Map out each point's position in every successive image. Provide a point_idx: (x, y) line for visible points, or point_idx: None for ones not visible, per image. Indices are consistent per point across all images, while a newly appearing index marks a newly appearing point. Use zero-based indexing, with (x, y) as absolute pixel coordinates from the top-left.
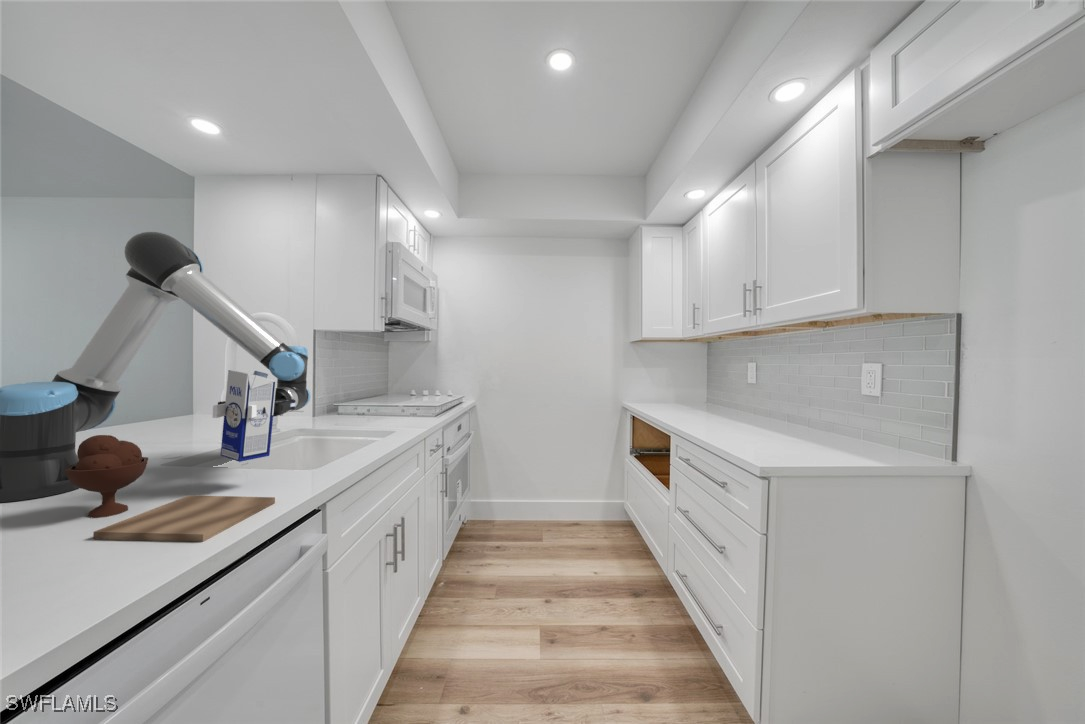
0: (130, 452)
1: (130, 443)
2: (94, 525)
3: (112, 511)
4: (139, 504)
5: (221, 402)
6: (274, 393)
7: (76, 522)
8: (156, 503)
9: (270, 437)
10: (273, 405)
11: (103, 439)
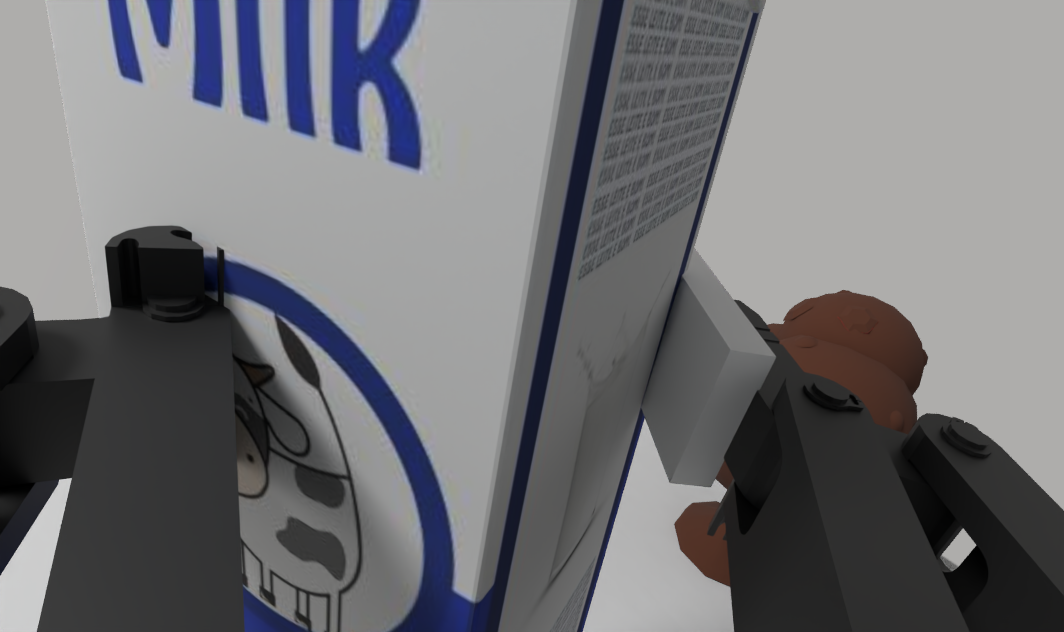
0: None
1: (806, 354)
2: (648, 454)
3: (688, 509)
4: (706, 609)
5: (927, 419)
6: (65, 6)
7: (719, 484)
8: (651, 609)
9: None
10: (98, 237)
11: (830, 295)
